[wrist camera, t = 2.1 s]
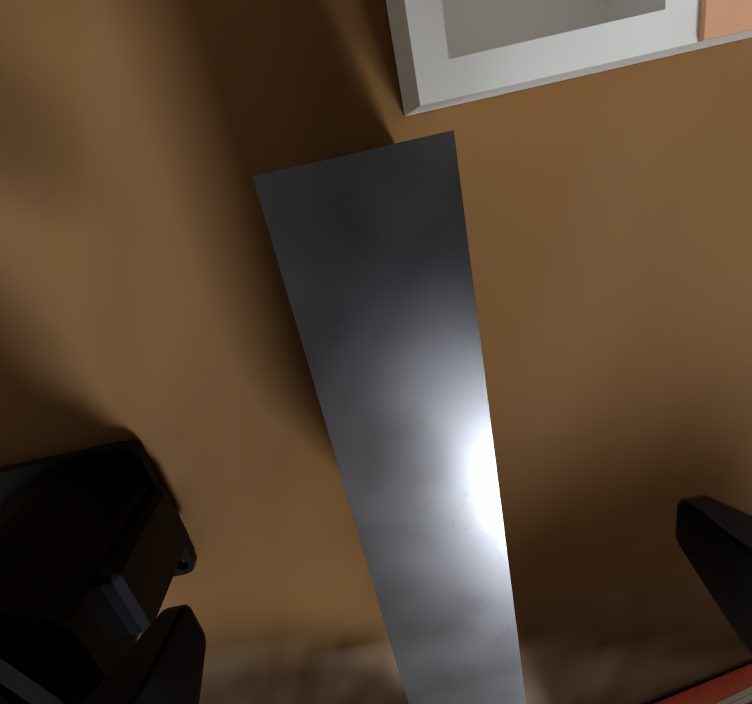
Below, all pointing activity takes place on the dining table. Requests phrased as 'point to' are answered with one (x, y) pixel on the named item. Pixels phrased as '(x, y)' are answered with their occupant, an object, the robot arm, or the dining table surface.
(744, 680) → the cracker box
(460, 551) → the panel
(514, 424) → the dining table surface
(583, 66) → the slot rack
